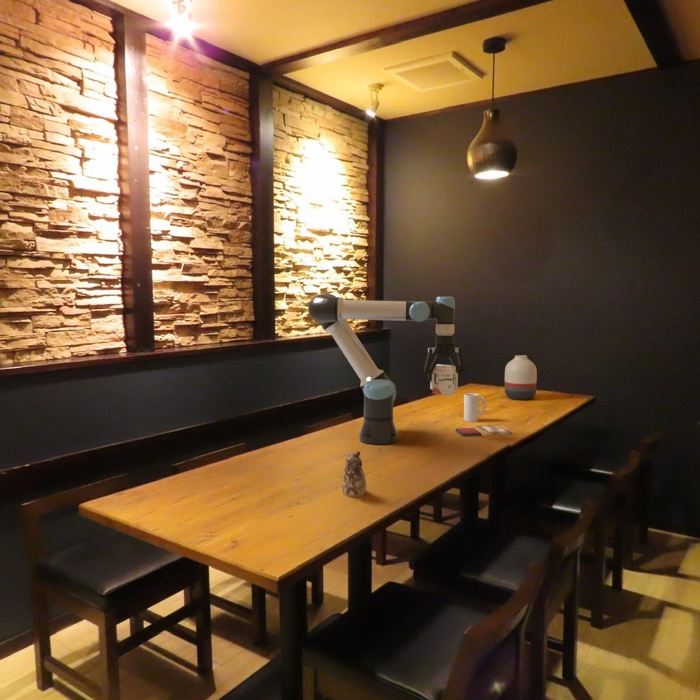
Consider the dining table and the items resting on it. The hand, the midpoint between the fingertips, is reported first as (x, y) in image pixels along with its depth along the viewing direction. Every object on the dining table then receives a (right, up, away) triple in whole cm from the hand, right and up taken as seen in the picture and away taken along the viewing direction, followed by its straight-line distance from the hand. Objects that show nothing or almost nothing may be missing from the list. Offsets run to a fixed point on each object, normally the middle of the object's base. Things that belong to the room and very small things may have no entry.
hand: (443, 388), depth 245 cm
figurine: (-37, -26, -70) cm, 84 cm away
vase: (+56, -11, +85) cm, 102 cm away
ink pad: (+11, -19, +3) cm, 22 cm away
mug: (+19, -16, +28) cm, 38 cm away
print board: (+22, -18, +8) cm, 30 cm away
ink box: (0, -2, 0) cm, 2 cm away
